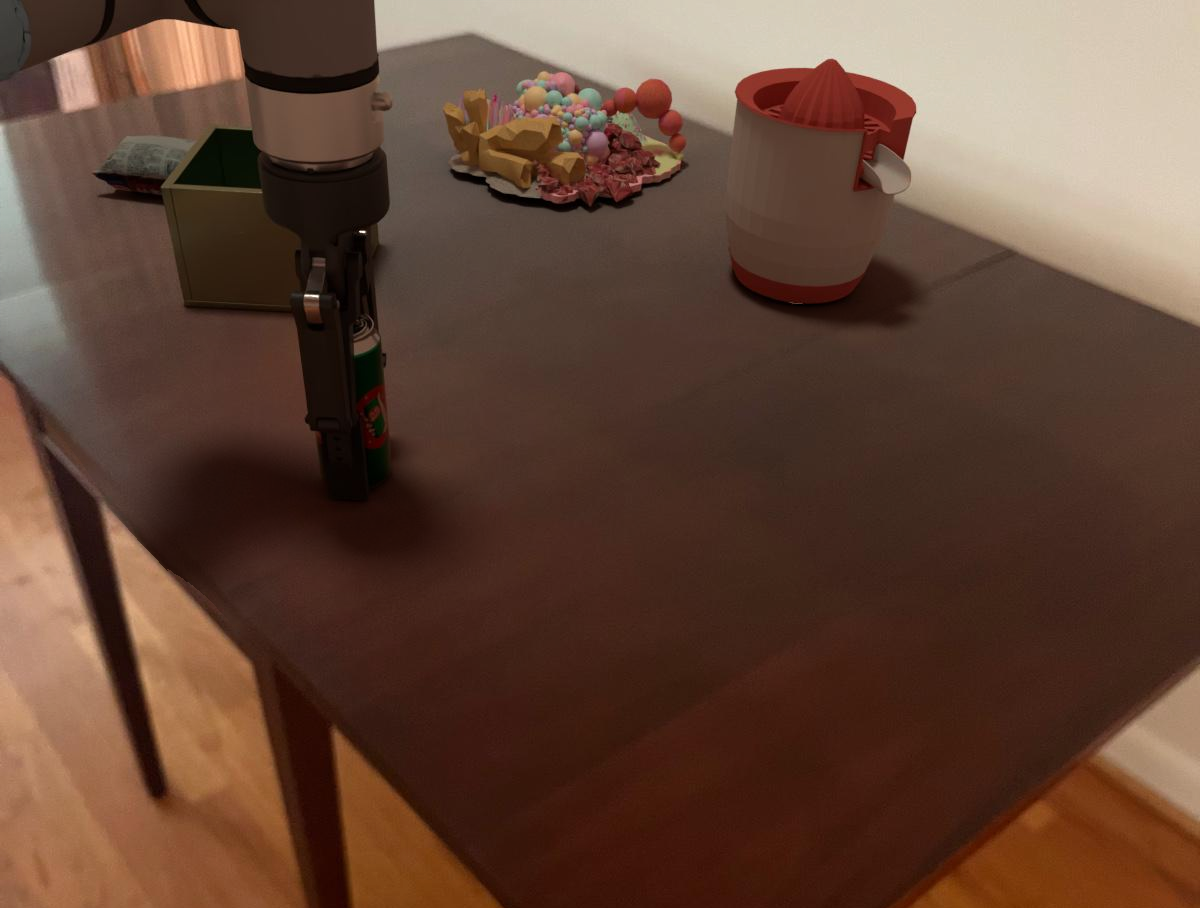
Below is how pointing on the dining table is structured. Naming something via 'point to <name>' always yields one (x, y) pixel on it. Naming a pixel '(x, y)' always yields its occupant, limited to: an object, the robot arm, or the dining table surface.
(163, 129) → the dining table surface
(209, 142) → the bin
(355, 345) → the soda can
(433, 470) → the dining table surface
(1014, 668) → the dining table surface
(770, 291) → the citrus juicer
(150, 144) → the packaged food
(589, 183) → the food platter
